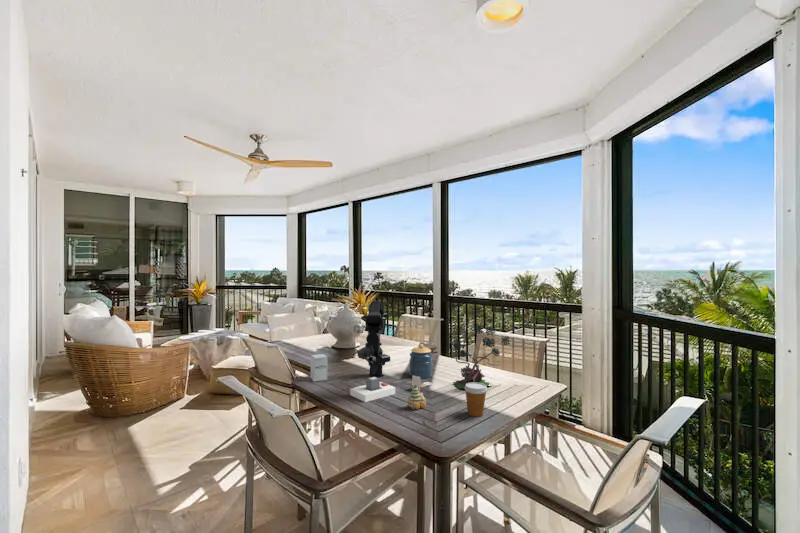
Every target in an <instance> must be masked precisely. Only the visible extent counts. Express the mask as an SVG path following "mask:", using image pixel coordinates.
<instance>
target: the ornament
mask: <svg viewBox="0 0 800 533" xmlns="http://www.w3.org/2000/svg"><path fill="white" fill-rule="evenodd" d="M406 402H407V404H406V405H407V407H408V408H410V409H412V410H419V409H424V408H425V407H426V405H427V400H426V398H425V396H424V393H423V392H422V391H420V392H419V391H418V388H417V385H414V388H413V389H412V388H411V392H410V395H409V396H408V399H407V401H406Z"/></svg>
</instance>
